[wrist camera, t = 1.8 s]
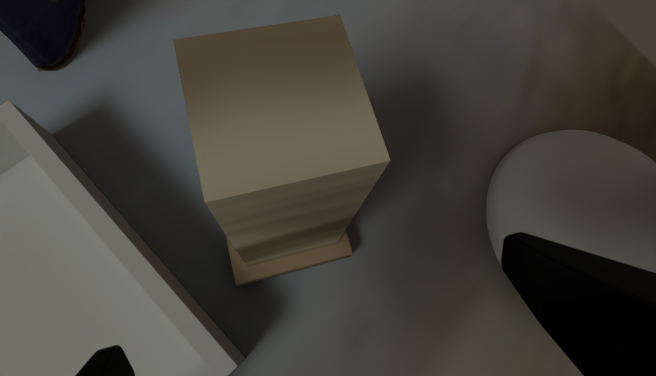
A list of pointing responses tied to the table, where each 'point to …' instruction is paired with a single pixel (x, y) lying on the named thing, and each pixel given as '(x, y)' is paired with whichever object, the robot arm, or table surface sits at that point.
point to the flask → (44, 29)
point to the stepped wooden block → (281, 141)
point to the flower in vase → (577, 196)
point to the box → (86, 274)
